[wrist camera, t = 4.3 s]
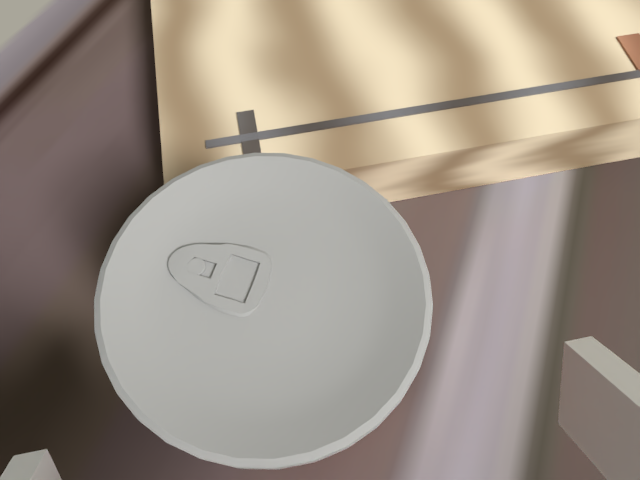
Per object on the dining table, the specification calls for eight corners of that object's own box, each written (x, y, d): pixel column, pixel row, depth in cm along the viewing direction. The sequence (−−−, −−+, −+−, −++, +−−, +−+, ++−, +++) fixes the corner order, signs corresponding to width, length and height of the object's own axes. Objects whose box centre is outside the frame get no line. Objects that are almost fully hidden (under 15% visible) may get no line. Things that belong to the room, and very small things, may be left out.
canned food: (213, 277, 22) (124, 144, 12) (376, 282, 22) (425, 152, 12) (191, 449, 19) (46, 466, 9) (380, 455, 19) (452, 479, 9)
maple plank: (189, 238, 23) (164, 199, 19) (165, -23, 31) (143, -87, 27) (689, 148, 25) (754, 97, 21) (547, -73, 33) (576, -139, 29)
